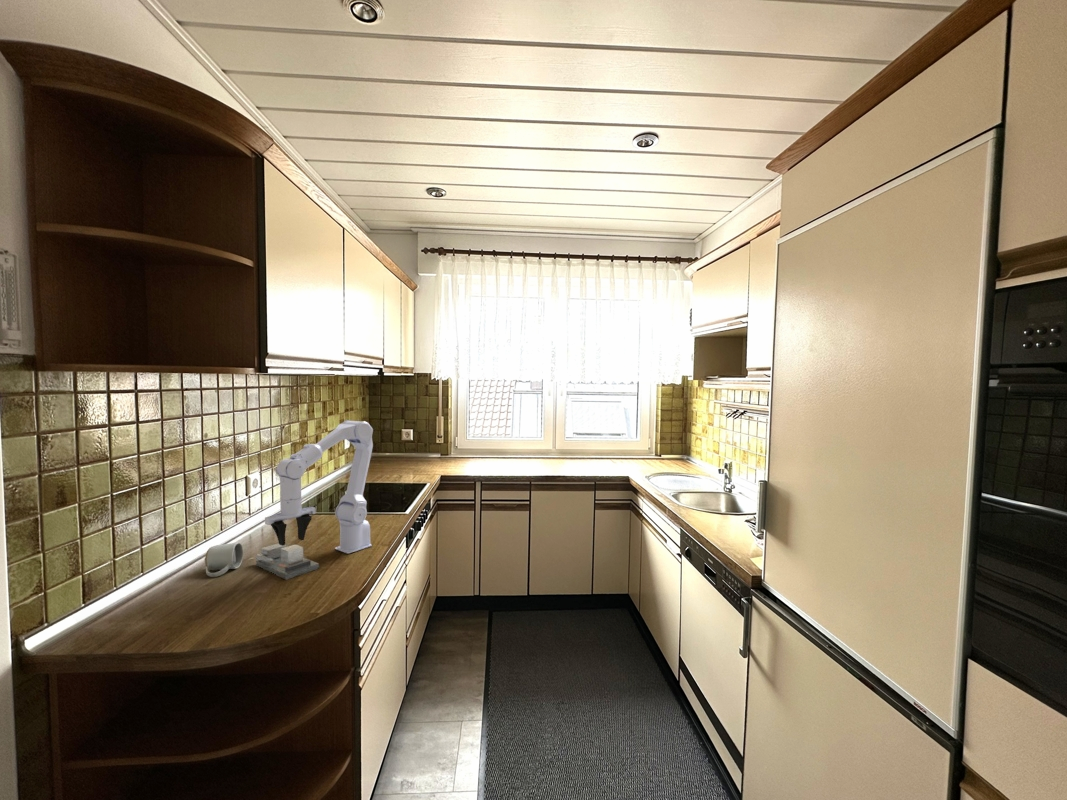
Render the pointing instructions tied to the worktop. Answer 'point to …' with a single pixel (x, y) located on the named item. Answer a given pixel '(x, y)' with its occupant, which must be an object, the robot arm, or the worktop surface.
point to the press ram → (272, 550)
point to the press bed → (287, 571)
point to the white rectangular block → (291, 555)
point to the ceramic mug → (223, 558)
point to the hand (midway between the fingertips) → (291, 542)
